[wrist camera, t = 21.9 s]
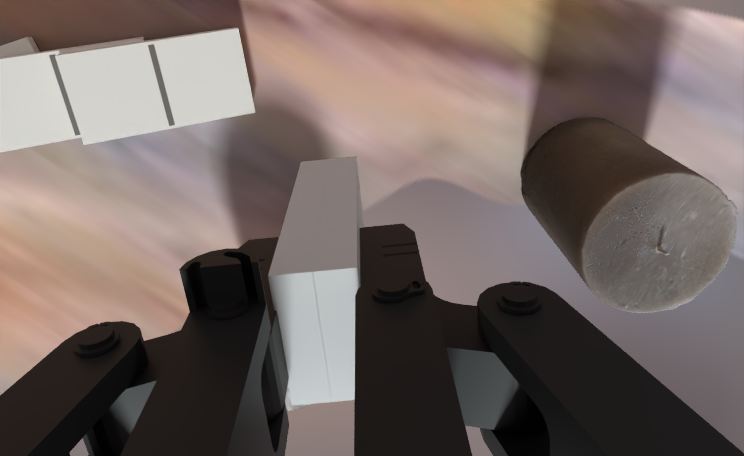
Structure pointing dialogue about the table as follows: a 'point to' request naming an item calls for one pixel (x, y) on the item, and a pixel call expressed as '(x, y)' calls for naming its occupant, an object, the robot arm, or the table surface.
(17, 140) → the domino
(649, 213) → the pillar candle
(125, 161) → the table surface
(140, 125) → the domino
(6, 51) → the domino
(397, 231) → the robot arm
